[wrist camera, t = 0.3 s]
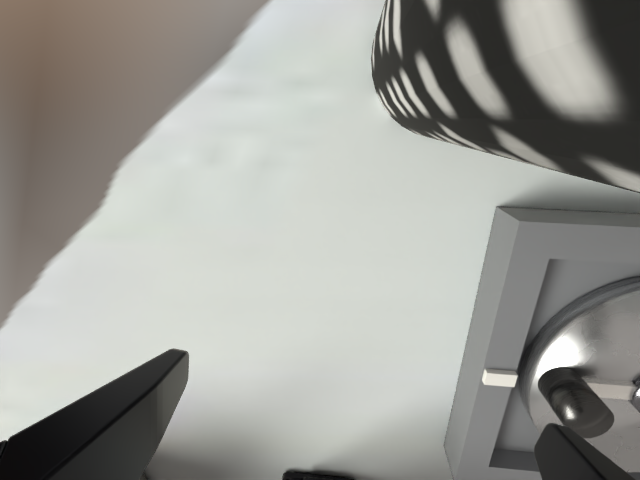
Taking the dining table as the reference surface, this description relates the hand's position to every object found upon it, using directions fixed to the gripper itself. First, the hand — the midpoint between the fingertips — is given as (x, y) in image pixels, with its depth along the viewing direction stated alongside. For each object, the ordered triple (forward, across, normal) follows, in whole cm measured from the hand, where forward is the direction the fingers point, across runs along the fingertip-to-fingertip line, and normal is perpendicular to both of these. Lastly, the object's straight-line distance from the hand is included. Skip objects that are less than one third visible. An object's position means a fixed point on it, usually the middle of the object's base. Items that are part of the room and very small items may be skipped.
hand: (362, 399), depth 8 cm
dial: (+12, -19, +6) cm, 24 cm away
